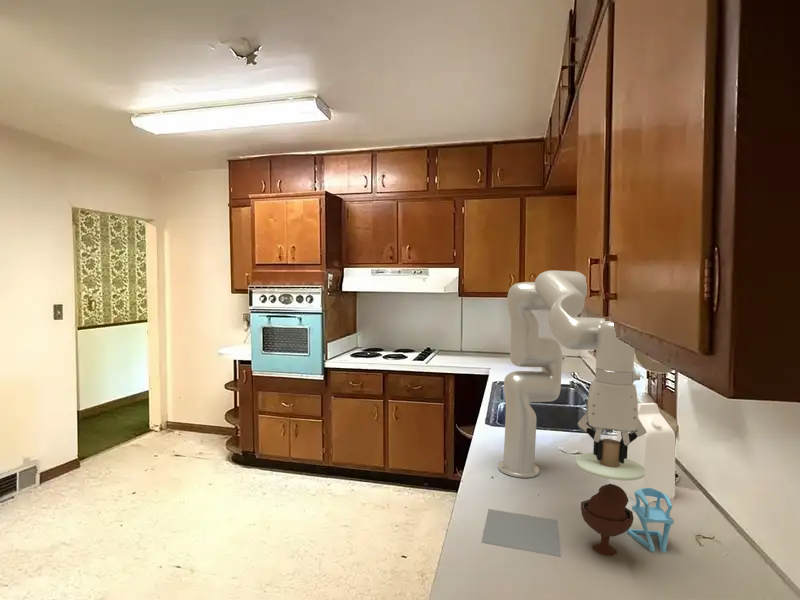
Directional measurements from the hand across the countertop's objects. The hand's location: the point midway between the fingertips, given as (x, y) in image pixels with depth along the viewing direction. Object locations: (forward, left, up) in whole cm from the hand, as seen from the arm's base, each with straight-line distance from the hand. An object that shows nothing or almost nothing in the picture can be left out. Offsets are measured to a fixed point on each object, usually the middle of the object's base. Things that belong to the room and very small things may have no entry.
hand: (609, 459), depth 107 cm
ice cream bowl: (0, 0, -21) cm, 21 cm away
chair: (-8, +11, -21) cm, 25 cm away
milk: (-38, +15, -21) cm, 46 cm away
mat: (-2, -18, -21) cm, 28 cm away
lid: (0, 0, -2) cm, 2 cm away
